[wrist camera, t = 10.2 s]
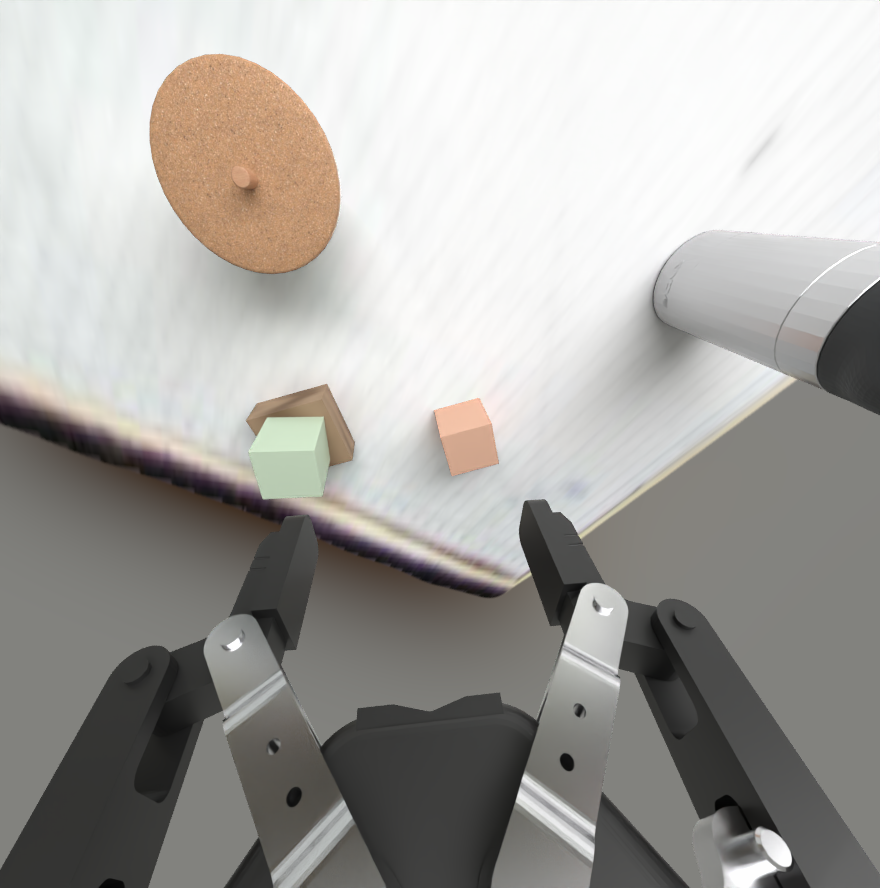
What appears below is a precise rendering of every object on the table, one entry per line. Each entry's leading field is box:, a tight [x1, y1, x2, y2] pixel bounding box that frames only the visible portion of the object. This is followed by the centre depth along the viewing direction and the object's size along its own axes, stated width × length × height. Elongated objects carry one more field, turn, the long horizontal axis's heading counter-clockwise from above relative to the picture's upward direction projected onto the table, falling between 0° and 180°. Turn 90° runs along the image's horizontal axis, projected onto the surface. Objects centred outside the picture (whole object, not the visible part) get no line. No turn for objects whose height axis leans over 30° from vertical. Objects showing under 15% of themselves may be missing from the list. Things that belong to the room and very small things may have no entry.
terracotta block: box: [434, 398, 499, 476], centre depth 40 cm, size 6×6×6 cm
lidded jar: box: [150, 54, 341, 274], centre depth 24 cm, size 11×11×9 cm
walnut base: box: [246, 384, 355, 466], centre depth 39 cm, size 8×8×4 cm
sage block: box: [248, 417, 330, 499], centre depth 34 cm, size 6×6×6 cm
